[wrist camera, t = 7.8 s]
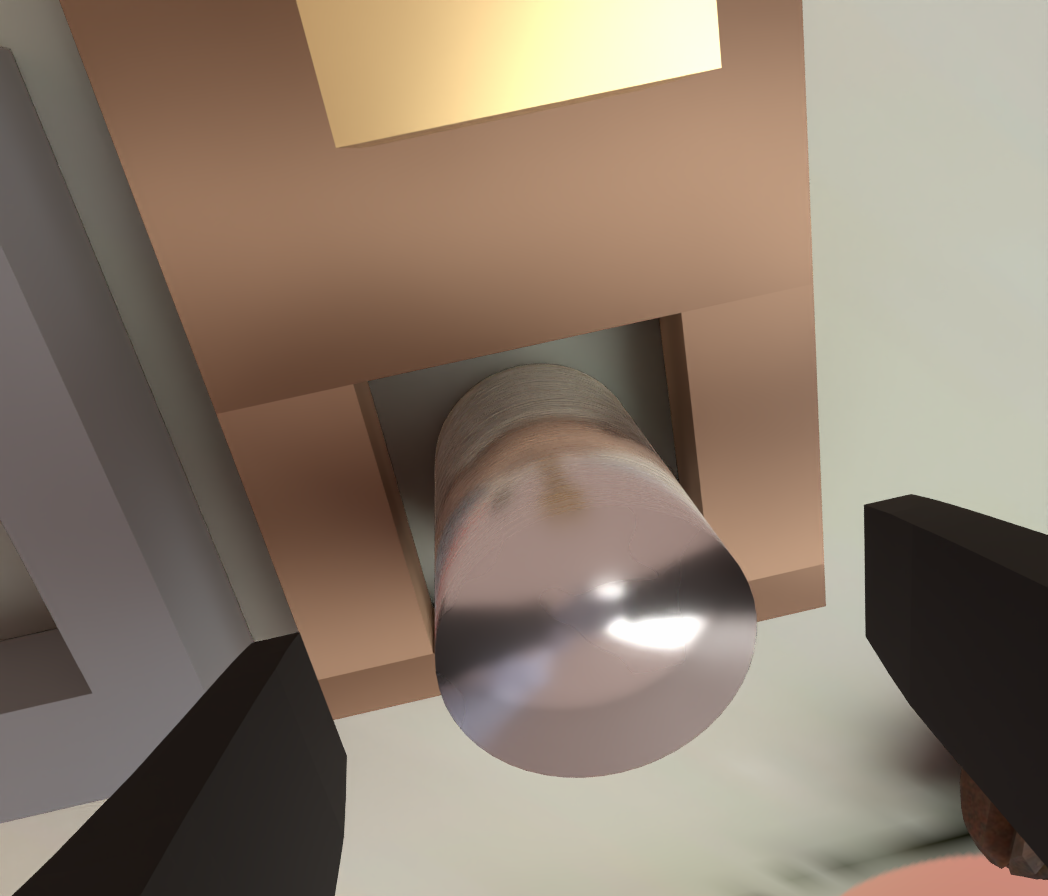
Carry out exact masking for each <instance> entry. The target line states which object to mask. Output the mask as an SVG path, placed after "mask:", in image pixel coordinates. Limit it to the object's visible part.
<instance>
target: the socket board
mask: <svg viewBox="0 0 1048 896" xmlns="http://www.w3.org/2000/svg"><path fill="white" fill-rule="evenodd" d="M59 1H60V4H61V6H62V9H63V12H64V14H65V17H66V20H67V22H68V25H69V27H70V30H71V33H72V35H73V38H74V41H75V43H76V46H77V48H78V51H79V54H80V56H81V59H82V62H83V64H84V67H85V70H86V72H87V75H88V77H89V80H90V83H91V85H92V88H93V91H94V93H95V96H96V99H97V101H98V104H99V106H100V109H101V112H102V114H103V117H104V120H105V122H106V125H107V128H108V130H109V133H110V135H111V138H112V141H113V143H114V146H115V149H116V151H117V154H118V157H119V159H120V162H121V164H122V167H123V170H124V172H125V175H126V178H127V180H128V183H129V186H130V188H131V191H132V193H133V196H134V199H135V201H136V204H137V207H138V209H139V212H140V215H141V217H142V220H143V222H144V225H145V228H146V230H147V233H148V236H149V238H150V241H151V244H152V246H153V249H154V251H155V254H156V257H157V259H158V262H159V265H160V267H161V270H162V273H163V275H164V278H165V280H166V283H167V286H168V288H169V291H170V294H171V296H172V299H173V302H174V304H175V307H176V309H177V312H178V315H179V317H180V320H181V323H182V325H183V328H184V330H185V333H186V336H187V338H188V341H189V344H190V346H191V349H192V352H193V354H194V357H195V359H196V362H197V365H198V367H199V370H200V373H201V375H202V378H203V381H204V383H205V386H206V388H207V391H208V394H209V396H210V399H211V402H212V404H213V407H214V410H215V412H216V415H217V417H218V420H219V423H220V425H221V428H222V431H223V433H224V436H225V439H226V441H227V444H228V446H229V449H230V452H231V454H232V457H233V460H234V462H235V465H236V468H237V470H238V473H239V475H240V478H241V481H242V483H243V486H244V489H245V491H246V494H247V497H248V499H249V502H250V504H251V507H252V510H253V512H254V515H255V518H256V520H257V523H258V526H259V528H260V531H261V533H262V536H263V539H264V541H265V544H266V547H267V549H268V552H269V555H270V557H271V560H272V562H273V565H274V568H275V570H276V573H277V576H278V578H279V581H280V583H281V586H282V589H283V591H284V594H285V597H286V599H287V602H288V605H289V607H290V610H291V612H292V615H293V618H294V620H295V623H296V626H297V628H298V631H299V632H300V634H301V637H302V640H303V642H304V645H305V648H306V650H307V653H308V655H309V658H310V661H311V663H312V666H313V669H314V671H315V674H316V676H317V679H318V682H319V684H320V687H321V690H322V692H323V695H324V697H325V700H326V703H327V705H328V708H329V711H330V713H331V716H332V718H333V720H335V719H340V718H344V717H348V716H353V715H357V714H361V713H366V712H370V711H374V710H379V709H383V708H387V707H392V706H396V705H400V704H405V703H409V702H413V701H418V700H422V699H426V698H431V697H435V696H439V695H441V693H440V690H439V686H438V681H437V676H436V668H435V608H434V609H433V606H432V603H431V599H430V596H429V592H428V589H427V585H426V582H425V579H424V575H423V572H422V568H421V565H420V561H419V558H418V554H417V551H416V547H415V544H414V540H413V537H412V533H411V530H410V527H409V523H408V520H407V516H406V513H405V509H404V506H403V502H402V499H401V495H400V492H399V488H398V485H397V481H396V478H395V475H394V471H393V468H392V464H391V461H390V457H389V454H388V450H387V447H386V443H385V440H384V436H383V433H382V429H381V426H380V423H379V419H378V416H377V412H376V409H375V405H374V402H373V398H372V395H371V391H370V388H369V384H368V381H370V380H375V379H380V378H384V377H389V376H393V375H398V374H403V373H407V372H412V371H416V370H421V369H425V368H430V367H435V366H439V365H444V364H448V363H453V362H458V361H462V360H467V359H471V358H476V357H480V356H485V355H490V354H494V353H499V352H503V351H508V350H513V349H517V348H522V347H526V346H531V345H535V344H540V343H545V342H549V341H554V340H558V339H563V338H568V337H572V336H577V335H581V334H586V333H590V332H595V331H600V330H604V329H609V328H613V327H618V326H623V325H627V324H632V323H636V322H641V321H645V320H650V319H655V318H659V322H660V330H661V338H662V346H663V354H664V363H665V371H666V379H667V387H668V395H669V403H670V412H671V420H672V428H673V436H674V444H675V453H676V461H677V469H678V477H679V484H680V485H681V487H682V488H683V489H684V491H685V492H686V493H687V495H688V496H689V498H690V499H691V500H692V502H693V503H694V504H695V506H696V507H697V508H698V510H699V511H700V513H701V514H702V515H703V517H704V518H705V519H706V521H707V522H708V524H709V525H710V526H711V528H712V529H713V530H714V532H715V533H716V535H717V536H718V537H719V539H720V540H721V541H722V543H723V544H724V546H725V547H726V548H727V550H728V551H729V552H730V554H731V555H732V557H733V558H734V559H735V561H736V562H737V563H738V565H739V566H740V568H741V570H742V572H743V573H744V575H745V577H746V579H747V581H748V583H749V586H750V589H751V592H752V595H753V598H754V603H755V609H756V615H757V622H759V621H763V620H768V619H772V618H776V617H781V616H785V615H789V614H794V613H798V612H802V611H807V610H811V609H815V608H819V607H824V606H826V601H825V575H824V550H823V524H822V498H821V473H820V447H819V421H818V396H817V370H816V344H815V319H814V293H813V267H812V242H811V216H810V190H809V165H808V139H807V113H806V88H805V62H804V36H803V11H802V0H716V3H717V16H718V29H719V42H720V55H721V67H722V68H719V69H715V70H712V71H708V72H704V73H701V74H697V75H694V76H690V77H686V78H683V79H679V80H676V81H672V82H668V83H665V84H661V85H658V86H654V87H650V88H647V89H643V90H640V91H635V92H630V93H625V94H621V95H616V96H611V97H606V98H602V99H597V100H592V101H587V102H582V103H578V104H573V105H568V106H563V107H558V108H554V109H549V110H544V111H539V112H534V113H530V114H525V115H520V116H515V117H511V118H506V119H501V120H496V121H491V122H487V123H482V124H477V125H472V126H467V127H463V128H458V129H453V130H448V131H443V132H439V133H434V134H429V135H424V136H420V137H415V138H410V139H405V140H400V141H396V142H391V143H386V144H381V145H376V146H372V147H367V148H336V146H335V142H334V139H333V135H332V131H331V128H330V124H329V120H328V116H327V113H326V109H325V105H324V102H323V98H322V94H321V91H320V87H319V83H318V80H317V76H316V72H315V68H314V65H313V61H312V57H311V54H310V50H309V46H308V43H307V39H306V35H305V32H304V28H303V24H302V20H301V17H300V13H299V9H298V6H297V2H296V0H59Z"/></svg>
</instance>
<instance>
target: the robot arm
mask: <svg viewBox="0 0 1048 896" xmlns="http://www.w3.org/2000/svg"><path fill="white" fill-rule="evenodd" d="M864 539H865V623H866V638H867V639H868V641H869V643H870V644H871V646H872V647H873V649H874V651H875V652H876V654H877V655H878V657H879V659H880V660H881V662H882V663H883V665H884V667H885V668H886V670H887V671H888V673H889V675H890V676H891V677H892V679H893V680H894V682H895V683H896V685H897V686H898V688H899V689H900V691H901V692H902V694H903V695H904V697H905V698H906V700H907V701H908V703H909V704H910V706H911V707H912V708H913V709H914V710H915V712H916V713H917V714H918V715H919V717H920V718H921V719H922V720H923V722H924V723H925V724H926V725H927V726H928V727H929V729H930V730H931V731H932V732H933V733H934V735H935V736H936V737H937V738H938V739H939V741H940V742H941V743H942V744H943V745H944V747H945V748H946V749H947V750H948V751H949V753H950V754H951V755H952V756H953V757H954V759H955V760H956V761H957V762H958V763H959V764H960V766H961V767H962V768H963V769H964V770H965V771H966V773H967V774H968V775H969V776H970V777H971V778H972V780H973V781H974V782H975V783H976V784H977V786H978V787H979V788H980V789H981V790H982V791H983V793H984V794H985V795H986V796H987V797H988V798H989V800H990V801H991V802H992V803H993V804H994V805H995V807H996V808H997V809H998V810H999V811H1000V812H1001V814H1002V815H1003V816H1004V817H1005V818H1006V820H1007V821H1008V822H1009V823H1010V824H1011V825H1012V827H1013V828H1014V829H1015V830H1016V831H1017V832H1018V834H1019V835H1020V836H1021V837H1022V838H1023V839H1024V841H1025V842H1026V843H1027V844H1028V845H1029V847H1030V848H1031V849H1032V850H1033V851H1034V852H1035V854H1036V855H1037V856H1038V857H1039V858H1040V859H1041V861H1042V862H1043V863H1044V864H1045V865H1046V866H1047V868H1048V535H1046V534H1043V533H1040V532H1037V531H1034V530H1031V529H1027V528H1024V527H1021V526H1018V525H1015V524H1012V523H1009V522H1006V521H1003V520H1000V519H996V518H993V517H990V516H987V515H984V514H981V513H978V512H974V511H971V510H968V509H965V508H961V507H958V506H955V505H951V504H948V503H944V502H941V501H937V500H933V499H930V498H925V497H921V496H917V495H912V494H910V495H905V496H901V497H897V498H892V499H888V500H883V501H879V502H874V503H870V504H866V505H864ZM346 767H347V755H346V753H345V750H344V747H343V745H342V742H341V739H340V737H339V734H338V732H337V729H336V726H335V724H334V721H333V718H332V716H331V713H330V711H329V708H328V705H327V703H326V700H325V697H324V695H323V692H322V690H321V687H320V684H319V682H318V679H317V676H316V674H315V671H314V669H313V666H312V663H311V661H310V658H309V655H308V653H307V650H306V648H305V645H304V642H303V640H302V637H301V634H300V632H299V633H294V634H290V635H285V636H281V637H276V638H272V639H268V640H263V641H259V642H254V643H251V644H250V645H249V646H248V647H247V648H246V649H245V650H244V651H243V652H242V653H241V654H240V655H239V656H238V657H237V658H236V659H235V660H234V661H233V662H232V663H231V664H230V665H229V667H228V668H227V669H226V670H225V671H224V672H223V673H222V674H221V675H220V676H219V678H218V679H217V680H216V681H215V682H214V683H213V684H212V685H211V687H210V688H209V689H208V690H207V691H206V692H205V693H204V694H203V696H202V697H201V698H200V699H199V700H198V701H197V702H196V704H195V705H194V706H193V707H192V708H191V709H190V710H189V711H188V713H187V714H186V715H185V716H184V717H183V718H182V719H181V720H180V722H179V723H178V724H177V725H176V726H175V727H174V728H173V729H172V730H171V732H170V733H169V734H168V735H167V736H166V737H165V738H164V739H163V740H162V742H161V743H160V744H159V745H158V746H157V747H156V748H155V749H154V750H153V752H152V753H151V754H150V755H149V756H148V757H147V758H146V759H145V761H144V762H143V763H142V764H141V765H140V766H139V767H138V768H137V769H136V770H135V772H134V773H133V774H132V775H131V776H130V777H129V778H128V779H127V780H126V781H125V782H124V783H123V784H122V785H121V786H120V787H119V788H118V789H117V790H116V791H115V792H114V793H113V795H112V796H111V797H110V798H109V799H108V800H107V801H106V802H105V803H104V804H103V805H102V806H101V807H100V808H99V809H98V810H97V811H96V812H95V813H94V814H93V815H92V816H91V817H90V818H89V819H88V820H87V821H86V822H85V824H84V825H83V826H82V827H81V828H80V829H79V830H78V831H77V832H76V833H75V834H74V835H73V836H72V837H71V838H70V839H69V840H68V841H67V842H66V843H65V844H64V845H63V846H62V847H61V848H60V849H59V850H58V851H57V853H56V854H55V855H54V856H53V857H52V858H51V859H49V860H48V861H47V862H46V863H45V864H44V865H43V866H42V867H41V868H40V869H39V870H38V871H37V872H36V873H35V874H34V875H33V876H32V877H31V878H30V879H29V880H28V881H27V882H26V883H25V884H24V885H23V886H22V887H21V888H19V889H18V890H17V891H16V892H15V893H14V894H13V895H12V896H335V891H336V884H337V878H338V872H339V865H340V859H341V852H342V845H343V839H344V823H345V803H346Z"/></svg>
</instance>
